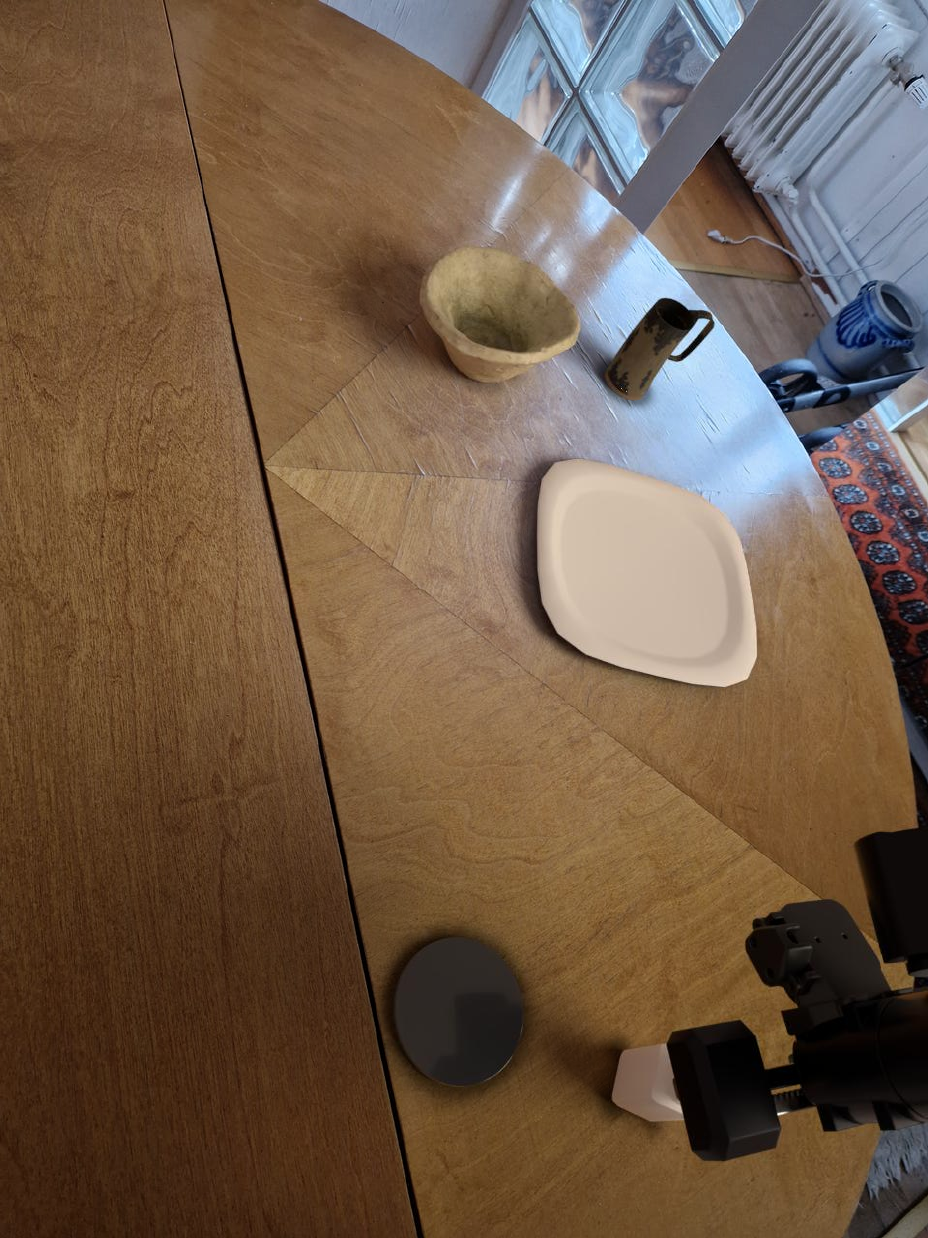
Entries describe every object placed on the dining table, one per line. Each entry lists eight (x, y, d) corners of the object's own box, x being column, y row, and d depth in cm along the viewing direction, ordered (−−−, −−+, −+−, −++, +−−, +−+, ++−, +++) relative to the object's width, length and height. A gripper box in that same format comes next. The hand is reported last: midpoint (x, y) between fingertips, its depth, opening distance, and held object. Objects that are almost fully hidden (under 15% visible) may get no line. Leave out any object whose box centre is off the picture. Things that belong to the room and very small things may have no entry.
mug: (607, 395, 105) (662, 319, 96) (600, 360, 108) (652, 283, 98) (664, 407, 108) (723, 334, 99) (656, 373, 111) (712, 299, 101)
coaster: (539, 1060, 65) (542, 1059, 65) (415, 1108, 61) (417, 1108, 60) (496, 923, 69) (498, 921, 69) (376, 959, 65) (378, 957, 64)
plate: (530, 654, 83) (538, 646, 82) (531, 450, 96) (538, 440, 95) (758, 707, 90) (769, 700, 89) (730, 510, 103) (739, 501, 102)
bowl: (474, 435, 100) (403, 356, 89) (474, 315, 108) (409, 228, 97) (589, 396, 94) (529, 305, 83) (581, 271, 102) (525, 172, 90)
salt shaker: (606, 1103, 66) (677, 1097, 58) (618, 1047, 68) (688, 1035, 60) (652, 1125, 66) (729, 1122, 58) (663, 1069, 68) (738, 1059, 61)
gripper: (985, 878, 52) (806, 930, 64) (726, 907, 44) (581, 960, 57) (1075, 1093, 47) (861, 1104, 59) (799, 1166, 39) (623, 1161, 52)
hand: (735, 1076), depth 57 cm, fingers open, 9 cm apart
